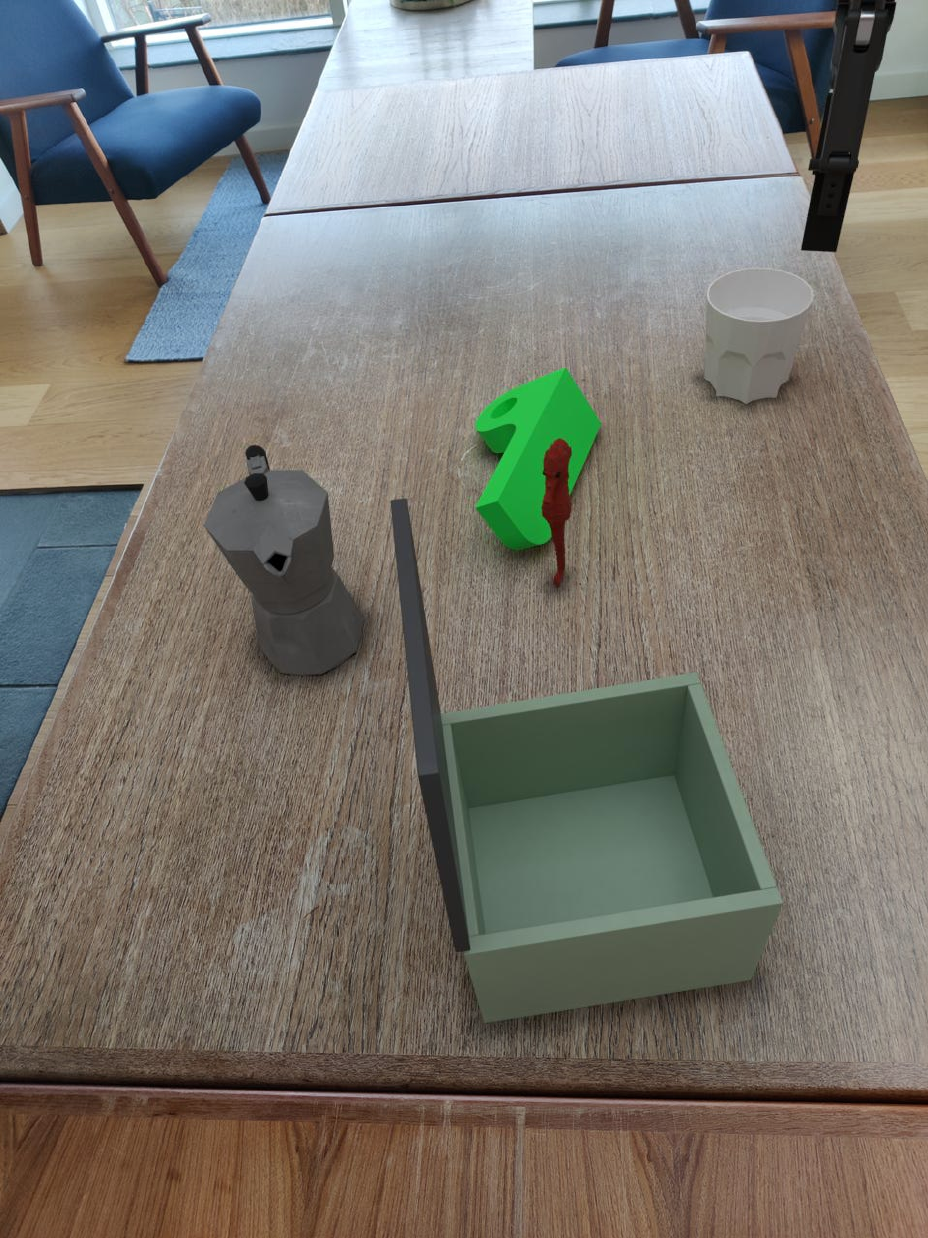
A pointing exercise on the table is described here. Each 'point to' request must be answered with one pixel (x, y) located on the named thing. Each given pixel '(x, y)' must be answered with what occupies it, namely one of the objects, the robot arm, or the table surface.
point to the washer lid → (428, 727)
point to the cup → (754, 331)
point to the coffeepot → (287, 566)
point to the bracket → (531, 452)
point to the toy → (557, 498)
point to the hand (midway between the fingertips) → (823, 209)
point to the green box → (603, 849)
